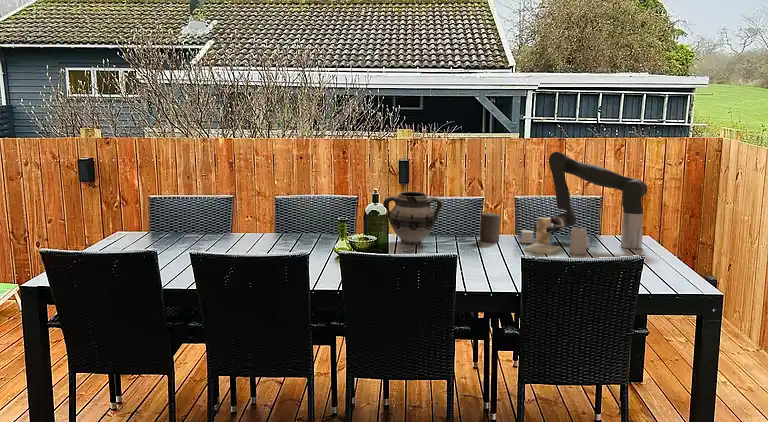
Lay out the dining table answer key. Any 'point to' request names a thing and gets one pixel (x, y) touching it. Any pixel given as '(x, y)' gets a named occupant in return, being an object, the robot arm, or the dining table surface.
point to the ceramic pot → (412, 216)
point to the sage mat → (542, 248)
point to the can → (578, 241)
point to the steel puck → (587, 243)
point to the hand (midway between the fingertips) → (541, 229)
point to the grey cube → (527, 236)
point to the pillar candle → (490, 227)
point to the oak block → (543, 230)
